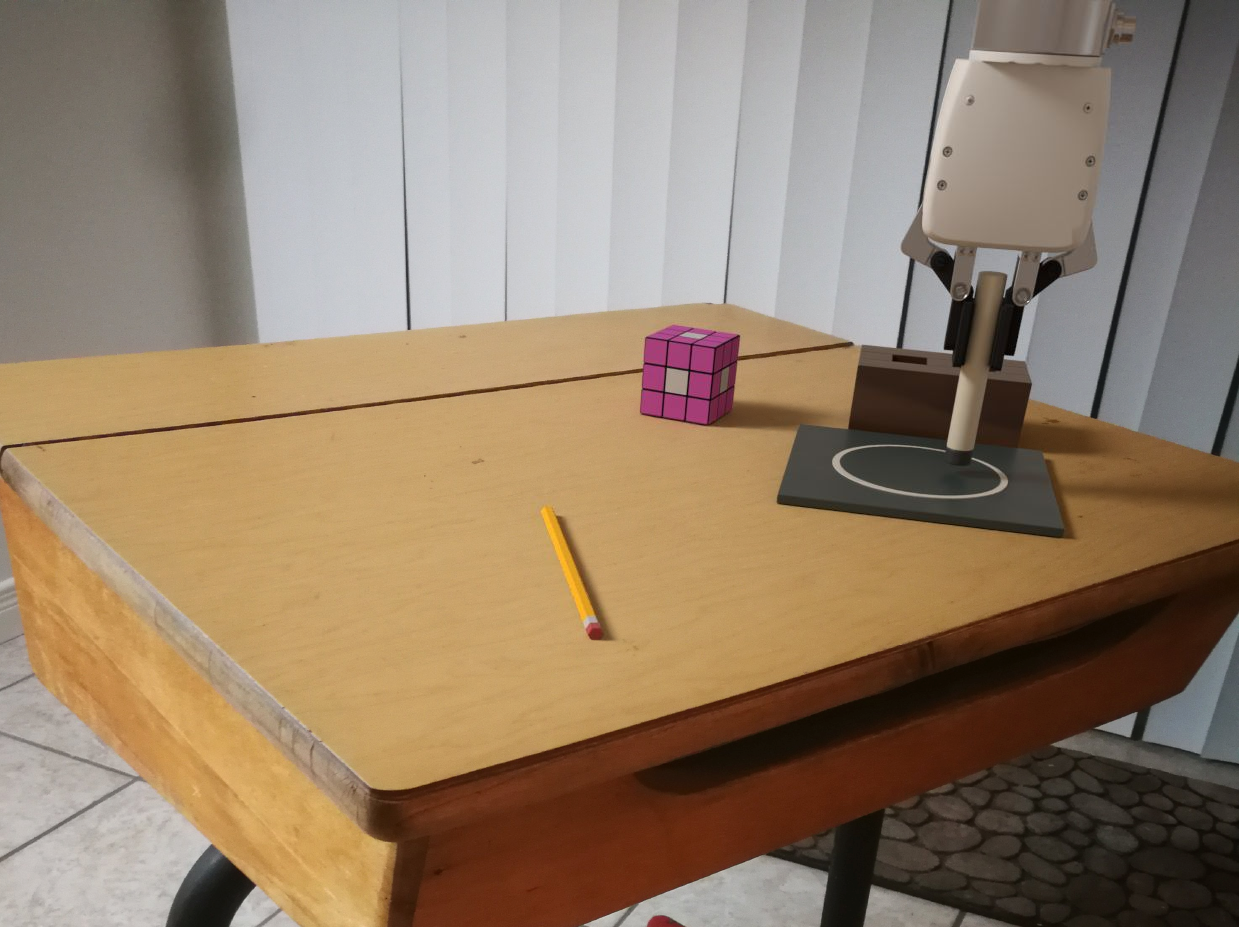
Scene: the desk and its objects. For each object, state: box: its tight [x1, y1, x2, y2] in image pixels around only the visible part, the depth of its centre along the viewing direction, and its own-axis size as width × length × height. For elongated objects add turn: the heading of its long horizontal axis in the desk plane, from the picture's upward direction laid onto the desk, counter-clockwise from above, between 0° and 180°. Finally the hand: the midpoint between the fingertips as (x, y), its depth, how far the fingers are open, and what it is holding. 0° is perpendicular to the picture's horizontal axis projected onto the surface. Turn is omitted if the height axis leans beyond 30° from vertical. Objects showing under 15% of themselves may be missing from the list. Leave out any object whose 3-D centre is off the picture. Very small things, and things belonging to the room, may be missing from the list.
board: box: [776, 423, 1065, 538], centre depth 89 cm, size 18×18×1 cm
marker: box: [944, 270, 1009, 466], centre depth 85 cm, size 2×2×12 cm
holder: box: [847, 344, 1033, 448], centre depth 99 cm, size 8×13×5 cm, turn 78°
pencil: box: [540, 505, 604, 640], centre depth 71 cm, size 1×18×1 cm, turn 10°
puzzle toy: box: [639, 324, 741, 426], centre depth 99 cm, size 6×6×6 cm
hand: (976, 362), depth 84 cm, fingers closed on marker, 1 cm apart
